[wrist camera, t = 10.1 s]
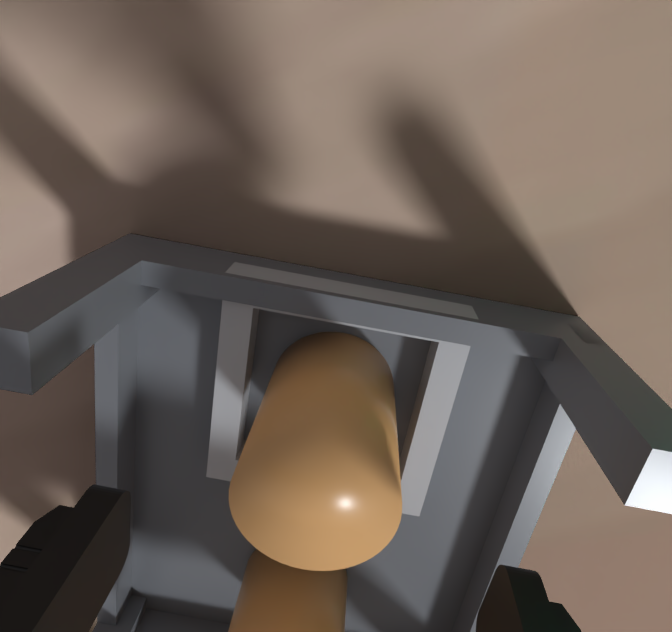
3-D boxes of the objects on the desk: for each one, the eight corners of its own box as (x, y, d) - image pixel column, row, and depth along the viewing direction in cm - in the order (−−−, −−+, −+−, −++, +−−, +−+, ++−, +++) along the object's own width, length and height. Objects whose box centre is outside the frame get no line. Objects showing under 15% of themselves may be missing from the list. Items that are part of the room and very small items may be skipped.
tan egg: (280, 321, 18) (236, 417, 12) (405, 344, 18) (419, 450, 12) (266, 426, 19) (221, 554, 14) (380, 447, 19) (382, 583, 14)
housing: (129, 233, 18) (-44, 319, 10) (579, 316, 18) (725, 462, 10) (123, 595, 25) (15, 803, 17) (449, 656, 25) (481, 890, 17)
